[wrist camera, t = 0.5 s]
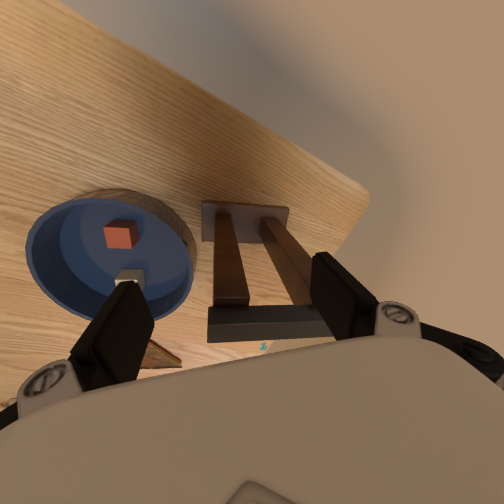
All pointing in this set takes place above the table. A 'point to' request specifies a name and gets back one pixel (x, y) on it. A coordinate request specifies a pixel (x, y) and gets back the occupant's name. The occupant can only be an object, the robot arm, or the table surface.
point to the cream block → (131, 276)
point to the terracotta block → (121, 234)
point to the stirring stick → (264, 323)
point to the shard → (158, 359)
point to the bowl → (110, 252)
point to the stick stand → (253, 231)
